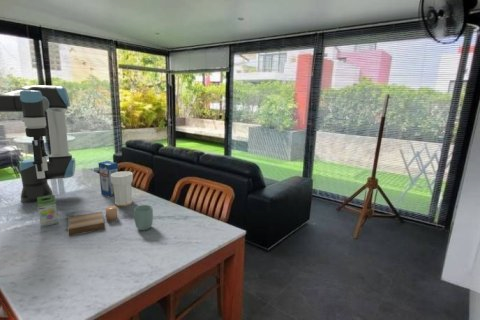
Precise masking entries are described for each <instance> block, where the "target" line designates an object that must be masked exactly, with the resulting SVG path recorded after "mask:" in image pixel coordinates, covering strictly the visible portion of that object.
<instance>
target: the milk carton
mask: <svg viewBox="0 0 480 320" xmlns="http://www.w3.org/2000/svg"><path fill="white" fill-rule="evenodd" d="M97 165H98V172H99V184H100V192H101V193H100V194H101V195H103V194H104V195H103V196H106V197H108V196H109V198H114V197H115V195H114V187H113V184H112V183H111V176H110V175H111V174H112V173H115V172H119V166H118V165H119V163H118V162H114V161H110V160H106V161H101V162H98V164H97ZM113 196H114V197H113Z"/></svg>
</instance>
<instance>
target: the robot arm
mask: <svg viewBox="0 0 480 320" xmlns="http://www.w3.org/2000/svg"><path fill="white" fill-rule="evenodd" d="M70 106H71V103H70V97H69V94H68V91H67V89H66V88H65V86H59V85H36V84H35V85H34V84H33V85H26V86H21V87H18V88H17V87H16V88H15V89H13V91H10V92H5V93H0V113H22V115H23V116H22V117H23V119H22V120H21V122H23V123H24V127H25V129H24V130H25V136H26V137H28V138H32V139H33V140H31V144H32V152H33V154H32V155H33V157H32V158H26V159H24V160H22V161H20V162H19V173H20V177H21V183H22V189H21V191H20V192H21V193H20V201H21V202H23V203H34V202H37V197H43V196H50V195H54V193H53V190H52V188H51V187H50V184H49V183H48V180H57V179H58V180H59V179H68V178H73V177H74V176H75V172H76V158H75V157H73V156H72V154H71V153H70V152H69V145H68V144H69V143H68V134H67V121H66V112H67V111H68V108H69V107H70ZM45 112H46V115H47V120H46V115H45ZM47 124H48V128H47ZM48 134H49V135H48ZM47 136H49V143H50V154H49V155H48V154H47V153H46V149H45V140H44V137H47ZM47 157H48V159H47ZM44 200H49V198H44V199H42V200H41V201H44Z"/></svg>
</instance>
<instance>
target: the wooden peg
mask: <svg viewBox="0 0 480 320" xmlns="http://www.w3.org/2000/svg"><path fill="white" fill-rule="evenodd" d="M117 207H118V206H116V205H110V206H106V207H105V218H106V222H116V221H117V220H118V219H119V217H118V208H117Z"/></svg>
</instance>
